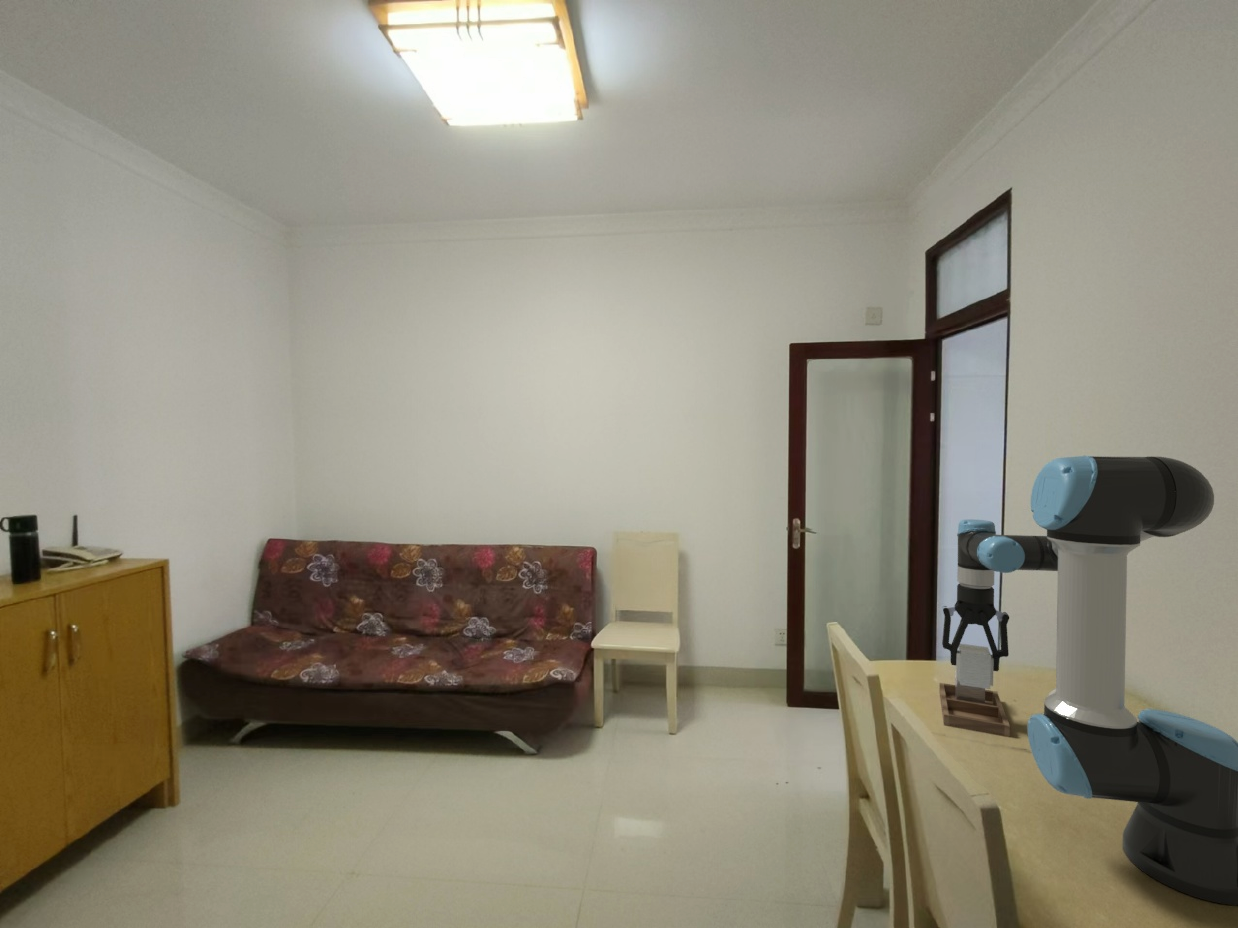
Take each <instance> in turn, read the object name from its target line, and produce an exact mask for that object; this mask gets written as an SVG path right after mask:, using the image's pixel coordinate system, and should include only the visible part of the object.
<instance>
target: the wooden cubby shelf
mask: <svg viewBox="0 0 1238 928" xmlns="http://www.w3.org/2000/svg"><path fill="white" fill-rule="evenodd" d="M938 688H939V689H938V690H939V698H940V699H939V701H940V705H941V707H940V708H941V712H942V713H941V715H942V723H943V726H946V727H951V728H957V729H961V730H962V729H963V730H968V731H973V732H979V733H984V734H989V735H995V736H1001V737H1005V738H1010V736H1011V732H1010V731H1011V729H1010V728H1011V726H1010V723H1009V721H1008V718H1007V714H1006V713H1005V709H1004V707H1003V704H1002V702H1001V699H1000V696H999V693H998V691H995V690H991V689H985V704H982V703H976V702H970V701H964V700H957V699H955V684H950V683H944V682H939V687H938Z"/></svg>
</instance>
